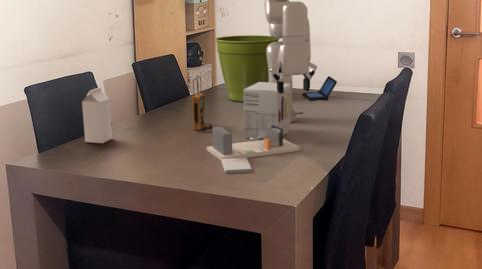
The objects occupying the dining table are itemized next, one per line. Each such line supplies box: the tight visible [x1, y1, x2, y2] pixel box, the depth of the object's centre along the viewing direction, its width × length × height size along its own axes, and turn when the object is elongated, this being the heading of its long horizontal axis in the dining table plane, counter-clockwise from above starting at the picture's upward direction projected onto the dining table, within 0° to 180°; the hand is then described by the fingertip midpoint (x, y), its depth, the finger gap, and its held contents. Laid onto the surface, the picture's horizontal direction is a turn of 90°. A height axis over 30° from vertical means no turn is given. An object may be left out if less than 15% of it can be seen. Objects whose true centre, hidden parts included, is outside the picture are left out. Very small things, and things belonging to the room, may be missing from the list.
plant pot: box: [215, 34, 281, 103], centre depth 297 cm, size 30×30×29 cm
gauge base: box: [206, 126, 301, 162], centre depth 212 cm, size 28×14×8 cm, turn 113°
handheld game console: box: [301, 76, 338, 102], centre depth 300 cm, size 16×13×9 cm
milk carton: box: [81, 86, 113, 144], centre depth 226 cm, size 7×7×19 cm
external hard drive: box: [221, 158, 253, 174], centre depth 196 cm, size 2×8×12 cm
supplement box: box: [243, 82, 291, 139], centre depth 232 cm, size 17×13×18 cm
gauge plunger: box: [248, 125, 284, 148], centre depth 213 cm, size 10×10×6 cm
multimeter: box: [191, 75, 214, 134], centre depth 242 cm, size 15×10×20 cm
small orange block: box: [264, 138, 271, 149], centre depth 209 cm, size 1×3×3 cm, turn 22°
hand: (293, 91), depth 214 cm, fingers open, 9 cm apart
